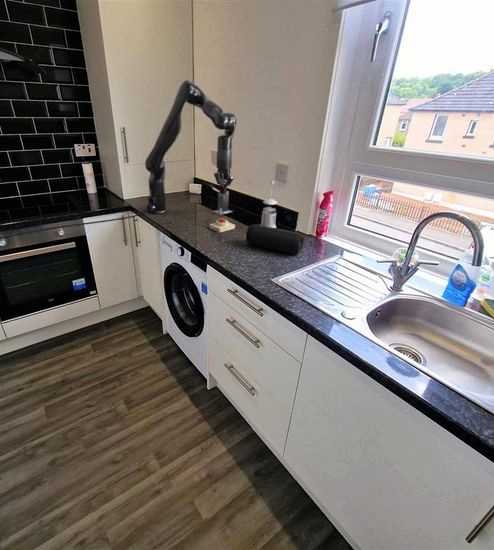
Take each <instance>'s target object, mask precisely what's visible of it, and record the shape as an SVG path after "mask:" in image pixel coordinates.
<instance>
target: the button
mask: <svg viewBox="0 0 494 550" xmlns="http://www.w3.org/2000/svg"><path fill="white" fill-rule="evenodd" d="M218 220H219V222H221V223H224V222H226V220H227V219H226V218H225V217H219V218H218Z"/></svg>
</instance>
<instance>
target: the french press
mask: <svg viewBox="0 0 494 550" xmlns="http://www.w3.org/2000/svg"><path fill="white" fill-rule="evenodd" d="M270 184H271V186H273V184H275V181H274V180H271V181H270ZM270 191H271V192H270V195H272V194H273V189H271V190H270ZM262 203H263V204H264V205H269V206H266V207H263V210H262V212H261V222H260V224H259V225H262V226H267V227H272V228H277V225H276V219H277V209H276V208H275V207H274V208H273V207H271V206H274V205H277V204H278V201H277V200H275V199H272V198H267V199H264V200H263V201H262Z"/></svg>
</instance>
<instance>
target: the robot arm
mask: <svg viewBox="0 0 494 550" xmlns="http://www.w3.org/2000/svg"><path fill="white" fill-rule="evenodd" d="M186 103H187V104H188V105H191V106H194V107H197V108H198V109H200V110H201V111H202V113H203V114H204V115H205V116H206V117H207V118H208V119H209V120H210V121H211V122H212V124H213V126H214V127H215V128H216V129H218V130H224V132H223V133H222V134H221V135H219V136H217V146H216V147H217V150H216V169H217V170H216V172H214V173H213V176H214V179H215V182H216V184H217V185H218V186H219V191H220V193H221V194H226V192H227V191H228V190H227V188H228V187H230V186H231V184H232V182H233V180H234V179H235V176H232V174H231V170H232V165H233V164H232V162H233V138H234V135H235V131H236V128H237V117H236V115H235V114H234V113H232V112H224V111H223V108H222V107H221V106H220V105H219V104H218V103H216V102H215V101H213V100H212V99H210V98H208V96H207V95H206V94H205V93H204V92H203V90H202V89H201V88H200V87H199V86H198V85H196V84H195V83H193V82H192V81H190V80H188V79H186V80H184V81H182V83H181V84H180V86H179V87H178V90H177V92H176V96H175V98H174V101H173V104H172V107H171V108H170V111H169V113H168V115H167V117H166V119H165V121H164V123H163V125H162V127H161V129H160V132H159V134H158V136H157V138H156V141H155V143H154V146H153V148H152V149H151V150H150V152H149V154H148V156H147V157H146V159H145V162H144V166H145V169H146V170H147V172H149V177H148V191H149V193H148V194H149V196H148V203H147V204H146V207H145V208H143V209H142V210H141V211H140V212H138V213H137V214H135V215H130V216H129V215H128V216H125V217H119V218H112V219H104V220H97V221H90V222H89V221H88V222H81V223H73V224H66V225H59V226H52V227H46V228H40V229H33V230H29V231H23V232H18V233H14V234H8V235H5V236H0V240H3V239H8V238H12V237H17V236H21V235H27V234H32V233H37V232H38V233H39V232H43V231H48V230H49V231H50V230H55V229H62V228H69V227H77V226H85V225H92V224H100V223H108V222H114V221H120V220H121V221H122V220H126V219H132V218H135V217H138V216H140V215H141V214H142V213H144V212H145V211H147V210H148V211H149V212H150V213H152V214H154V215H156V214H163V213H167V206H166V187H165V179H166V164H165V159H164V157H165V156H166V154H167V153H168V151H169V150H170V149H171V148H172V146H173V145H174V143H175V142H176V141H177V139H178V137H179V135H180V133H181V131H182V113H183V109H184V106H185V105H186Z"/></svg>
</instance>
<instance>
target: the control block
mask: <svg viewBox="0 0 494 550" xmlns="http://www.w3.org/2000/svg"><path fill="white" fill-rule="evenodd" d="M208 228H209V229H211V230H213V231H215V232H217V233H223V232H227V231H232V230H235V229H236V224H234V223H232V222H229V221H228V220H227V219H226V222H224V223H221V222H219V219H216V221H215V222H213V223H209V224H208Z"/></svg>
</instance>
